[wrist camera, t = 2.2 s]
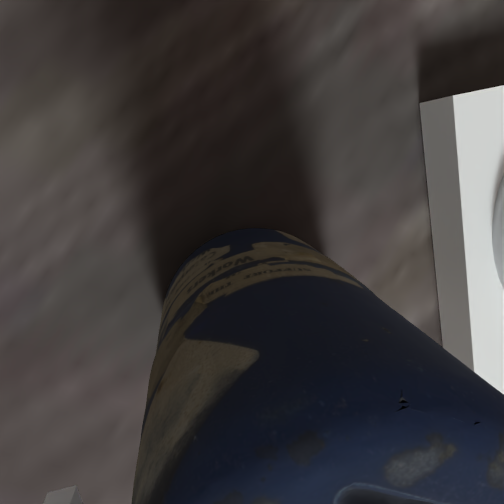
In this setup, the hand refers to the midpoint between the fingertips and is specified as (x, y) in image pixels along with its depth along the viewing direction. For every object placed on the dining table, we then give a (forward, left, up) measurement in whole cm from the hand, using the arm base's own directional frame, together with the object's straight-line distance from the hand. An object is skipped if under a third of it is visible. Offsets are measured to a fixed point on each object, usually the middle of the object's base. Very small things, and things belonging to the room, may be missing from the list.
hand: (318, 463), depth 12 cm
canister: (0, 0, -13) cm, 13 cm away
